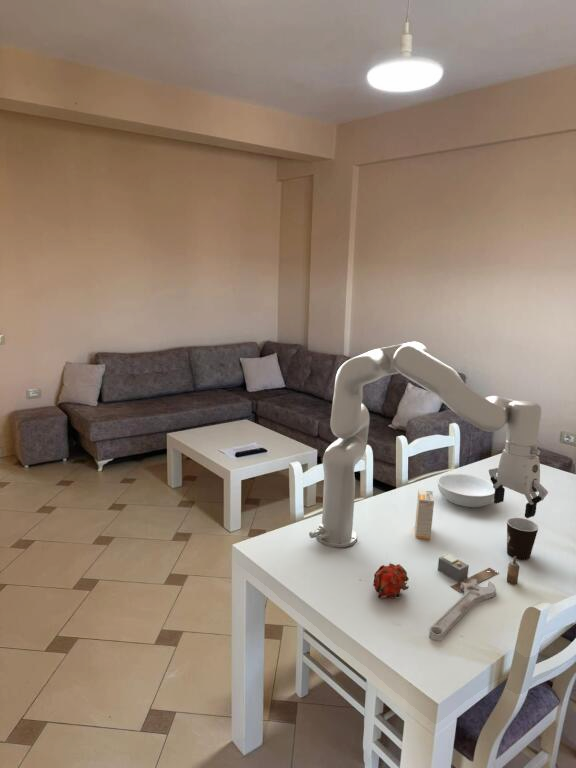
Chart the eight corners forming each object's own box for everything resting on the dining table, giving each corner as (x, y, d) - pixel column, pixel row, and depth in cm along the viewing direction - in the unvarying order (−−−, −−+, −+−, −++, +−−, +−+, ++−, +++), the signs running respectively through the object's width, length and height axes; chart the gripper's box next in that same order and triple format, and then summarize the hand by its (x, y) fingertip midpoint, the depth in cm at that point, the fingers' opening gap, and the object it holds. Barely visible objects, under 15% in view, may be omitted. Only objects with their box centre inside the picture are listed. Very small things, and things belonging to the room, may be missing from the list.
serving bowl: (500, 498, 201) (503, 481, 200) (487, 520, 184) (490, 501, 183) (445, 485, 212) (447, 468, 211) (428, 504, 195) (430, 486, 193)
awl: (513, 585, 146) (517, 560, 145) (504, 580, 149) (507, 555, 147) (519, 582, 148) (522, 557, 146) (510, 577, 150) (513, 553, 148)
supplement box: (430, 539, 169) (434, 501, 166) (415, 537, 170) (418, 499, 167) (429, 527, 177) (433, 490, 174) (414, 525, 178) (418, 488, 175)
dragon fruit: (404, 589, 146) (380, 615, 138) (382, 564, 149) (357, 588, 140) (421, 575, 140) (397, 602, 132) (398, 549, 143) (373, 574, 135)
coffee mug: (531, 565, 157) (536, 534, 154) (500, 556, 161) (504, 525, 159) (537, 548, 166) (541, 518, 164) (507, 540, 171) (511, 511, 168)
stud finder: (458, 582, 147) (459, 568, 146) (437, 570, 153) (439, 556, 152) (467, 578, 149) (468, 563, 148) (446, 566, 155) (448, 552, 154)
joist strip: (459, 592, 143) (459, 591, 143) (450, 586, 145) (450, 586, 145) (498, 573, 152) (498, 572, 152) (489, 568, 155) (489, 567, 154)
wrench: (417, 624, 126) (470, 572, 148) (416, 631, 127) (469, 578, 149) (449, 641, 121) (499, 585, 143) (448, 648, 122) (498, 591, 144)
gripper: (560, 456, 135) (552, 519, 138) (502, 437, 149) (496, 494, 153) (541, 461, 131) (533, 526, 135) (483, 441, 146) (478, 499, 149)
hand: (513, 509), depth 144 cm, fingers open, 9 cm apart
